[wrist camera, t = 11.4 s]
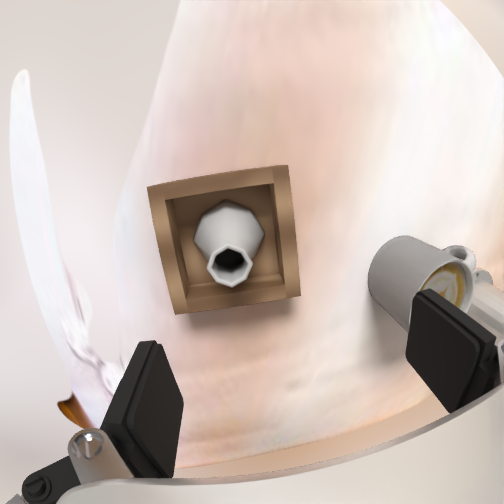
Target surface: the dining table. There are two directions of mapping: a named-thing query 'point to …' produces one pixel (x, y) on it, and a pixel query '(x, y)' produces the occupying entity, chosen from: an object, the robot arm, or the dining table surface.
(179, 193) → the walnut well
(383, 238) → the dining table surface
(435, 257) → the coffee mug
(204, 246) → the flask
